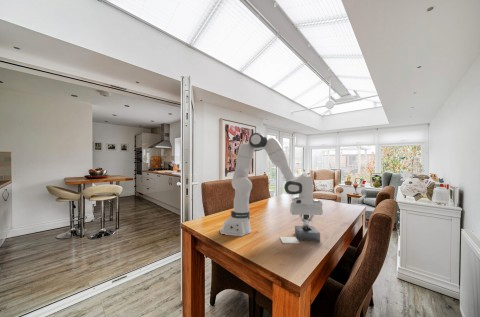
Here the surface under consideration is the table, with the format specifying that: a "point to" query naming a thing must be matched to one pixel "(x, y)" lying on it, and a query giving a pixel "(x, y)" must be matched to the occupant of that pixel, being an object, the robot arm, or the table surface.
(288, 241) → the set down mat
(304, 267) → the table surface
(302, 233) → the block
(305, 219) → the chuck key
